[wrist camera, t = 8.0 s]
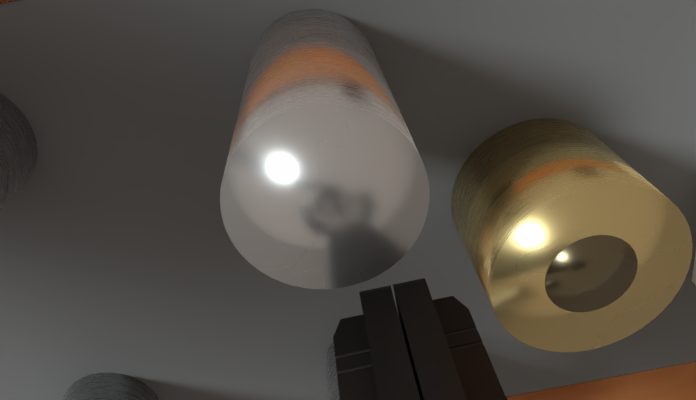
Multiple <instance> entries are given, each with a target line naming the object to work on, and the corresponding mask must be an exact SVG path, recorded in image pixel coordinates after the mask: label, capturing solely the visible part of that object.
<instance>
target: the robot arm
mask: <svg viewBox="0 0 696 400" xmlns="http://www.w3.org/2000/svg"><path fill="white" fill-rule="evenodd" d="M393 289H394V295H395V300H396V304H395V300H394V297H393V293H392V289H391V286H390V285H389V286H384V287H379V288H374V289H370V290H365V291H360V292H359V294H360V299H361V305H362V311H363V315H358V316H353V317H348V318H344V319H340V322H339V324H338V327H337V329H336V331H335V334H334V336H333V341H334V350H335V358H336V359H335V360H336V369H337V378H338V388H339V397H340V400H507V398H506V396H505V394H504V391H503V389H502V387H501V384H500V382H499V380H498V377H497V375H496V372H495V370H494V368H493V365H492V363H491V361H490V358H489V356H488V354H487V351H486V349H485V346H484V344H483V343H482V339H481V337H480V335H479V332H478V330H477V329H476V325H475V323H474V320H473V318H472V316H471V313H470V311H469V309H468V308H467V307H466V306H465V305H463V304H462V303H461V302H460V301H459V300H457V299H456V298H455V297H454V296H449V297H444V298H439V299H435V300H432V297H431V294H430V291H429V288H428V286H427V283H426V280H425V278H422V279H417V280H412V281H407V282H403V283H398V284H393ZM396 305H397V308H396ZM397 311H398V312H397Z"/></svg>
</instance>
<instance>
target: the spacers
mask: <svg viewBox="0 0 696 400" xmlns="http://www.w3.org/2000/svg"><path fill="white" fill-rule="evenodd" d="M37 152H38V149H37V141H36V137H35V134H34V132H33V129H32V127H31V125H30V123H29V121H28V120H27V118H26V117H25V116H24V114H23V113H22V112H21V111H20V110H19V108H18V107H17V106H16V105H14V104H13V103H12V102H11V101H10V100H9V99H7V98H6V97H5V96H3V95H2V94H0V209H1V208H2V207H3V206H4V204H5V203H6V202H7V201H8V200H9V199H10V198H11V197H12V195H13V194H14V193H15V192H16V191H17V190H18V189H19V188H20V186H21V185H22V184H23V183H24V182H25V181H26V180H27V179H28V177H29V176H30V175H31V173H32V172H33V170H34V167H35V165H36V161H37ZM429 199H430V193H429V182H428V177H427V172H426V170H425V167H424V164H423V161H422V159H421V157H420V155H419V153H418V150H417V148H416V146H415V144H414V141H413V139H412V137H411V135H410V132H409V130H408V128H407V126H406V124H405V121H404V119H403V117H402V115H401V112H400V110H399V108H398V106H397V104H396V101H395V99H394V97H393V95H392V92H391V90H390V88H389V86H388V83H387V81H386V79H385V77H384V75H383V72H382V70H381V68H380V66H379V63H378V61H377V59H376V57H375V55H374V52H373V50H372V48H371V46H370V44H369V42H368V40H367V38H366V37H365V35H364V34H363V33H362V31H361V30H360V29H359V28H358V27H357V26H356V25H355V24H354V23H352V22H351V21H350V20H349V19H347V18H345V17H344V16H342V15H340V14H337V13H335V12H332V11H328V10H324V9H302V10H297V11H294V12H291V13H288V14H286V15H284V16H282V17H280V18H279V19H277V20H276V21H274V22H273V23H272V24H271V25H270V26H269V27H268V28H267V29H266V30H265V31H264V32H263V34H262V35H261V36H260V38H259V40H258V42H257V43H256V45H255V48H254V51H253V54H252V58H251V62H250V67H249V71H248V75H247V79H246V83H245V87H244V92H243V96H242V100H241V104H240V108H239V112H238V116H237V121H236V125H235V129H234V133H233V137H232V141H231V146H230V150H229V154H228V158H227V162H226V166H225V171H224V175H223V179H222V184H221V189H220V208H221V215H222V219H223V223H224V226H225V229H226V231H227V234H228V236H229V238H230V239H231V241H232V243H233V244H234V246H235V247H236V249H237V250H238V251H239V252H240V254H241V255H242V256H243V257H244V258H245V259H246V260H247V261H248V262H249V263H250V264H251V265H253V266H254V267H255V268H257V269H258V270H259V271H261V272H262V273H264V274H266V275H268V276H269V277H271V278H273V279H276V280H278V281H280V282H283V283H286V284H289V285H292V286H297V287H302V288H308V289H336V288H343V287H348V286H352V285H356V284H359V283H362V282H364V281H367V280H370V279H372V278H374V277H376V276H378V275H380V274H381V273H383V272H384V271H386V270H388V269H389V268H391V267H392V266H393V265H394V264H396V263H397V262H398V261H399V260H400V259H401V258H402V257H403V256H404V255H405V254H406V253H407V252H408V251H409V250H410V248H411V247H412V246H413V244H414V243H415V241H416V240H417V238H418V236H419V234H420V233H421V231H422V228H423V226H424V223H425V221H426V217H427V213H428V209H429ZM335 359H336V358H335V350H334V341H333V342H332V343H331V345H330V347H329V348H328V351H327V354H326V374H327V389H328V400H340V397H339V388H338V378H337V369H336V360H335ZM62 400H159V399H158V397H157V395H156V394H155V393H154V391H153V390H152V389H151V388H150V387H148V386H147V385H146V384H144V383H143V382H141V381H139V380H137V379H135V378H133V377H130V376H127V375H123V374H117V373H97V374H92V375H88V376H85V377H83V378H81V379H79V380H77V381H76V382H74V383H73V384H72V385H71V386H70V387H69V388H68V389H67V391H66V392H65V394H64V397H63V399H62Z"/></svg>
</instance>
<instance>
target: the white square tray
mask: <svg viewBox="0 0 696 400" xmlns="http://www.w3.org/2000/svg"><path fill="white" fill-rule="evenodd" d="M692 282H693V283H694V284H695V285H696V252H695V260H694V267H693V275H692Z"/></svg>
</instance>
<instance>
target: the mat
mask: <svg viewBox="0 0 696 400" xmlns="http://www.w3.org/2000/svg"><path fill="white" fill-rule="evenodd" d="M302 9H324V10H328V11H332V12H335V13H337V14H340V15H342V16H344V17H345V18H347V19H349V20H350V21H351V22H352V23H354V24H355V25H356V26H357V27H358V28H359V29H360V30H361V31H362V33H363V34H364V35H365V37H366V38H367V40H368V42H369V44H370V46H371V48H372V50H373V52H374V55H375V57H376V59H377V61H378V63H379V66H380V68H381V70H382V72H383V75H384V77H385V79H386V81H387V83H388V86H389V88H390V90H391V92H392V95H393V97H394V99H395V101H396V104H397V106H398V108H399V110H400V112H401V115H402V117H403V119H404V121H405V124H406V126H407V128H408V130H409V132H410V135H411V137H412V139H413V141H414V144H415V146H416V148H417V150H418V153H419V155H420V157H421V159H422V161H423V164H424V167H425V170H426V172H427V177H428V182H429V193H430V199H429V209H428V213H427V217H426V221H425V223H424V226H423V228H422V231H421V233H420V234H419V236H418V238H417V240H416V241H415V243H414V244H413V246H412V247H411V248H410V250H409V251H408V252H407V253H406V254H405V255H404V256H403V257H402V258H401V259H400V260H399V261H398V262H397V263H396V264H394V265H393V266H392V267H391V268H389V269H388V270H386V271H384V272H383V273H381V274H380V275H378V276H376V277H374V278H372V279H370V280H367V281H364V282H362V283H359V284H356V285H352V286H348V287H343V288H336V289H308V288H302V287H297V286H292V285H289V284H286V283H283V282H280V281H278V280H276V279H273V278H271V277H269V276H268V275H266V274H264V273H262V272H261V271H259V270H258V269H257V268H255V267H254V266H253V265H251V264H250V263H249V262H248V261H247V260H246V259H245V258H244V257H243V256H242V255H241V254H240V252H239V251H238V250H237V249H236V247H235V246H234V244H233V243H232V241H231V239H230V238H229V236H228V234H227V231H226V229H225V226H224V223H223V219H222V215H221V208H220V189H221V184H222V179H223V175H224V171H225V166H226V162H227V158H228V154H229V150H230V146H231V141H232V137H233V133H234V129H235V125H236V121H237V116H238V112H239V108H240V104H241V100H242V96H243V92H244V87H245V83H246V79H247V75H248V71H249V67H250V62H251V58H252V54H253V51H254V48H255V45H256V43H257V42H258V40H259V38H260V36H261V35H262V34H263V32H264V31H265V30H266V29H267V28H268V27H269V26H270V25H271V24H272V23H273V22H274V21H276V20H277V19H279V18H280V17H282V16H284V15H286V14H288V13H291V12H294V11H297V10H302ZM0 94H2V95H3V96H5V97H6V98H7V99H9V100H10V101H11V102H12V103H13V104H14V105H16V106H17V107H18V108H19V110H20V111H21V112H22V113H23V114H24V116H25V117H26V118H27V120H28V121H29V123H30V125H31V127H32V129H33V132H34V134H35V137H36V141H37V149H38V152H37V161H36V165H35V167H34V170H33V172H32V173H31V175H30V176H29V177H28V179H27V180H26V181H25V182H24V183H23V184H22V185H21V186H20V188H19V189H18V190H17V191H16V192H15V193H14V194H13V195H12V197H11V198H10V199H9V200H8V201H7V202H6V203H5V204H4V206H3V207H2V208H1V209H0V400H62V399H63V397H64V394H65V392H66V391H67V389H68V388H69V387H70V386H71V385H72V384H73V383H74V382H76V381H77V380H79V379H81V378H83V377H85V376H88V375H92V374H97V373H117V374H123V375H127V376H130V377H133V378H135V379H137V380H139V381H141V382H143V383H144V384H146V385H147V386H148V387H150V388H151V389H152V390H153V391H154V393H155V394H156V395H157V397H158V399H159V400H328V389H327V374H326V354H327V351H328V348H329V347H330V345H331V343H332V342H333V336H334V334H335V331H336V329H337V327H338V324H339V322H340V319H344V318H348V317H353V316H358V315H363V311H362V305H361V299H360V294H359V292H360V291H365V290H370V289H374V288H379V287H384V286H389V285H390V286H391V289H392V293H393V297H394V300H395V295H394V289H393V284H398V283H403V282H407V281H412V280H417V279H422V278H425V280H426V283H427V286H428V288H429V291H430V294H431V297H432V300H435V299H439V298H444V297H449V296H454V297H455V298H456V299H457V300H459V301H460V302H461V303H462V304H463V305H465V306H466V307H467V308H468V309H469V311H470V313H471V316H472V318H473V320H474V323H475V325H476V329H477V330H478V332H479V335H480V337H481V339H482V343H483V344H484V346H485V349H486V351H487V354H488V356H489V358H490V361H491V363H492V365H493V368H494V370H495V372H496V375H497V377H498V380H499V382H500V384H501V387H502V389H503V391H504V394H505V396H506V397H508V396H514V395H519V394H524V393H530V392H535V391H541V390H546V389H551V388H557V387H562V386H567V385H573V384H578V383H583V382H589V381H594V380H599V379H605V378H610V377H615V376H621V375H626V374H632V373H637V372H642V371H648V370H653V369H658V368H664V367H669V366H674V365H680V364H685V363H690V362H696V285H695V284H694V283H693V282H692V275H693V267H694V260H695V252H696V0H16V1H11V2H6V3H1V4H0ZM540 118H555V119H561V120H566V121H570V122H573V123H576V124H578V125H580V126H582V127H584V128H585V129H587V130H588V131H590V132H591V133H593V134H594V135H595V136H596V137H597V138H598V139H599V140H601V141H602V142H603V143H604V144H605V145H606V146H608V147H609V148H610V149H611V150H612V151H613V152H615V153H616V154H617V155H618V156H619V157H620V158H622V159H623V160H624V161H625V162H626V163H627V164H629V165H630V166H631V167H632V168H633V169H634V170H636V171H637V172H638V173H639V174H640V175H641V176H643V177H644V178H645V179H646V180H647V181H648V182H650V183H651V184H652V185H653V186H654V187H655V188H657V189H658V190H659V191H660V192H661V193H662V194H664V195H665V196H666V197H667V198H668V199H669V200H671V201H672V202H673V203H674V204H675V205H676V206H677V207H678V208H679V210H680V211H681V212H682V214H683V215H684V216H685V219H686V221H687V223H688V225H689V228H690V232H691V235H692V246H693V248H692V259H691V263H690V267H689V270H688V273H687V276H686V278H685V280H684V282H683V284H682V286H681V288H680V290H679V291H678V293H677V294H676V296H675V297H674V298H673V300H672V301H671V302H670V303H669V304H668V306H667V307H666V308H665V309H664V310H663V311H662V312H661V313H660V314H659V315H658V316H657V317H656V318H655V319H653V320H652V321H651V322H649V323H648V324H647V325H646V326H644V327H643V328H641V329H640V330H638V331H637V332H635V333H633V334H631V335H630V336H628V337H626V338H624V339H622V340H619V341H617V342H615V343H612V344H610V345H606V346H603V347H600V348H596V349H592V350H587V351H579V352H553V351H547V350H542V349H538V348H535V347H532V346H529V345H527V344H525V343H523V342H521V341H519V340H518V339H517V338H515V337H514V336H512V335H511V334H510V333H509V332H508V331H507V330H506V329H505V328H504V327H503V325H502V324H501V323H500V321H499V320H498V318H497V316H496V314H495V312H494V310H493V308H492V305H491V303H490V301H489V299H488V297H487V295H486V292H485V290H484V288H483V286H482V284H481V282H480V279H479V277H478V275H477V273H476V271H475V269H474V266H473V264H472V262H471V260H470V258H469V256H468V253H467V251H466V249H465V247H464V245H463V243H462V240H461V238H460V236H459V234H458V232H457V230H456V227H455V225H454V222H453V218H452V212H451V196H452V190H453V186H454V183H455V180H456V177H457V175H458V173H459V171H460V169H461V167H462V166H463V164H464V162H465V161H466V160H467V158H468V157H469V156H470V155H471V153H472V152H473V151H474V150H475V149H476V148H477V147H478V146H479V145H480V144H481V143H483V142H484V141H485V140H486V139H488V138H489V137H490V136H492V135H493V134H495V133H497V132H498V131H500V130H502V129H504V128H506V127H508V126H511V125H513V124H516V123H519V122H523V121H527V120H531V119H540ZM395 304H396V300H395ZM396 308H397V305H396ZM397 312H398V311H397Z"/></svg>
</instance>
